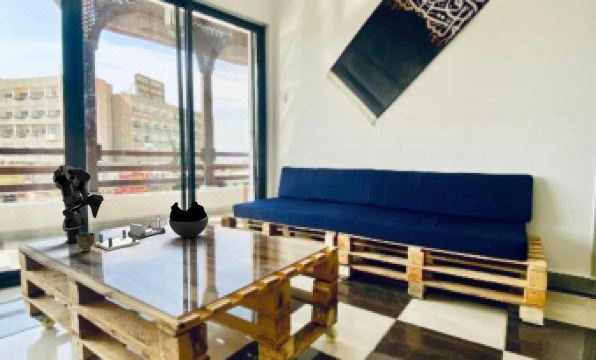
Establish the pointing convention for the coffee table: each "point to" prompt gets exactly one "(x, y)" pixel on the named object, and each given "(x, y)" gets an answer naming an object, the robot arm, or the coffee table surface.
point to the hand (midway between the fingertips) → (87, 222)
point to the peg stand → (117, 241)
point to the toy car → (144, 232)
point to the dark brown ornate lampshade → (85, 241)
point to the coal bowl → (188, 220)
